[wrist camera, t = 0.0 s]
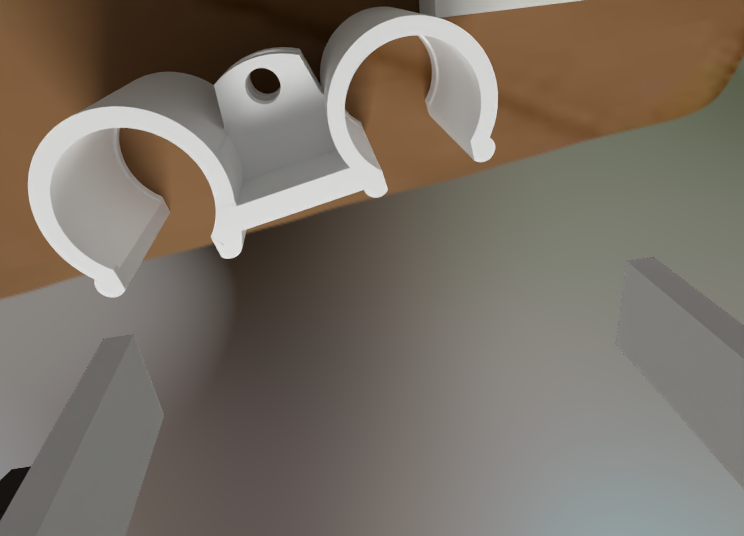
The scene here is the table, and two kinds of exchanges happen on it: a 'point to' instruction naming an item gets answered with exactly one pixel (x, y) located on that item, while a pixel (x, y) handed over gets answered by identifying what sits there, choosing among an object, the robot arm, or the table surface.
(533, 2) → the tray
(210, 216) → the table surface
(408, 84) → the table surface
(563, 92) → the table surface
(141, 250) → the bracket
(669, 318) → the robot arm
